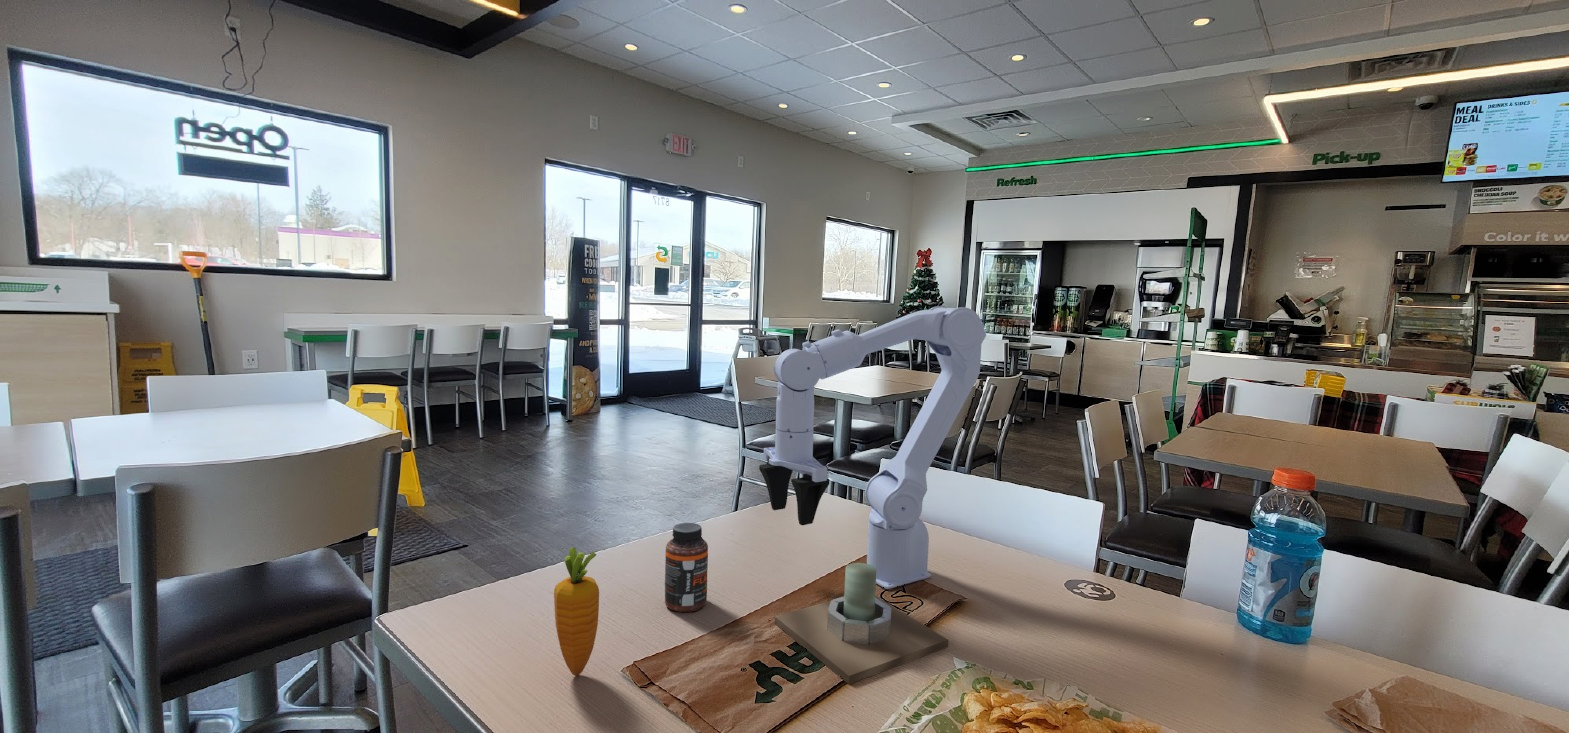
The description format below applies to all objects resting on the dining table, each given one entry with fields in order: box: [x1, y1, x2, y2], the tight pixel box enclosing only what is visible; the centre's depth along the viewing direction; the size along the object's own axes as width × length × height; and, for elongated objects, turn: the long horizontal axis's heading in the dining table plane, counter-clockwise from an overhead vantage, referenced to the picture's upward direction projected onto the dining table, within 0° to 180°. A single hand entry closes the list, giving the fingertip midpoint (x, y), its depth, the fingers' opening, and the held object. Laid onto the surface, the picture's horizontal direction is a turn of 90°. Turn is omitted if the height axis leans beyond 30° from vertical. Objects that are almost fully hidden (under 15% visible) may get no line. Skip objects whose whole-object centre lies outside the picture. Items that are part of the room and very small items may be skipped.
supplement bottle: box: [664, 522, 709, 613], centre depth 92 cm, size 6×6×11 cm
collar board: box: [774, 595, 949, 685], centre depth 85 cm, size 16×16×1 cm
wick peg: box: [843, 562, 877, 622], centre depth 85 cm, size 4×4×8 cm
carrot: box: [553, 546, 600, 677], centre depth 74 cm, size 5×5×15 cm
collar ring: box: [827, 596, 891, 645], centre depth 85 cm, size 8×8×2 cm
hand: (791, 516), depth 100 cm, fingers open, 7 cm apart
